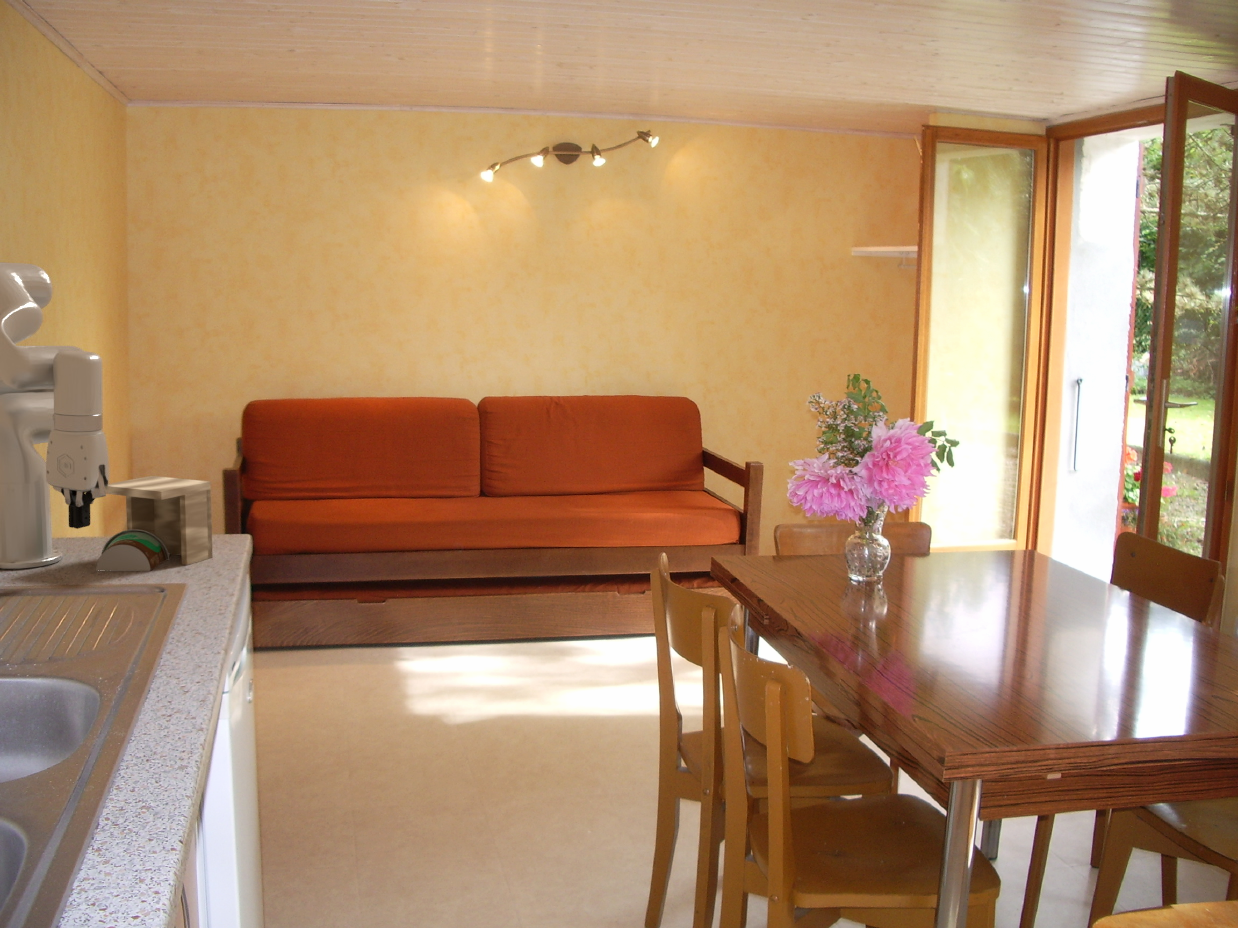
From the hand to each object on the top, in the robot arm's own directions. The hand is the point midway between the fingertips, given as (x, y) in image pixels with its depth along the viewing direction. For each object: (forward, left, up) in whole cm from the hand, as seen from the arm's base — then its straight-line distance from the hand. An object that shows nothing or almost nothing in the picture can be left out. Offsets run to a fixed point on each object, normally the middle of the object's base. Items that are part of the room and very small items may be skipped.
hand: (79, 526), depth 188 cm
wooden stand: (+1, +17, -10) cm, 20 cm away
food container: (+2, +8, -7) cm, 10 cm away
